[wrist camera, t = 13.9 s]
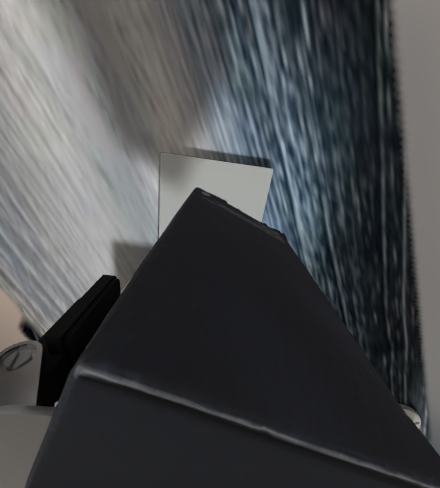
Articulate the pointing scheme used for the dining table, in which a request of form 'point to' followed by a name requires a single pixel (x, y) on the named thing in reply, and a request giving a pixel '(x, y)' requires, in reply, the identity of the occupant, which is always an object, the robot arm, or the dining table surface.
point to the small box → (227, 377)
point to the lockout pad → (211, 184)
